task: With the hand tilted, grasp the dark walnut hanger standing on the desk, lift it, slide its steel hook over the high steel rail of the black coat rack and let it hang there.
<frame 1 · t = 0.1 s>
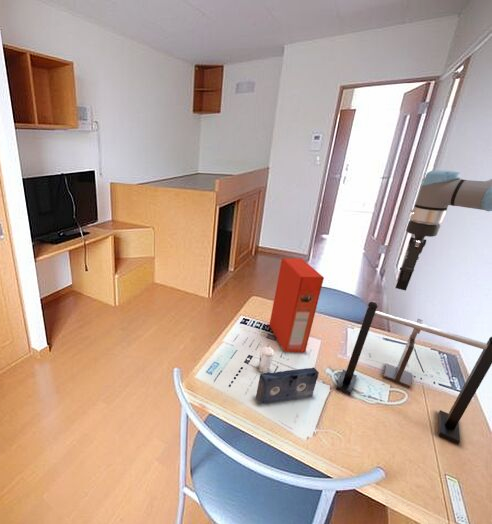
hand: (402, 282, 104), 31 cm above the table, tool pointing down, fingers open, 13 cm apart
vhs cassette tape: (283, 398, 96), on the table
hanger: (397, 376, 105), on the table
coat rack: (392, 404, 94), on the table
file binder: (285, 338, 124), on the table
milkshake: (262, 369, 108), on the table
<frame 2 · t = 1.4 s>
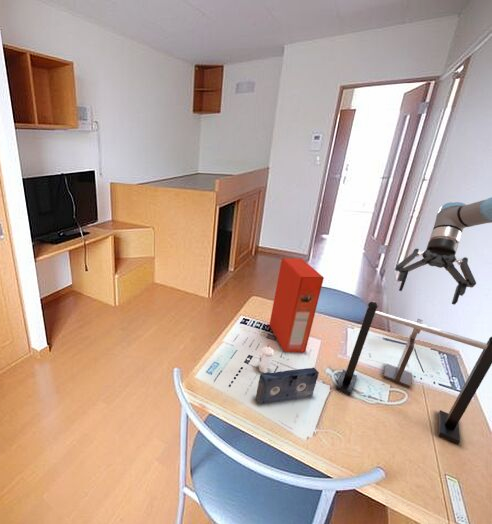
hand: (426, 296, 102), 27 cm above the table, tool tilted 45°, fingers open, 13 cm apart
nothing on the table moved.
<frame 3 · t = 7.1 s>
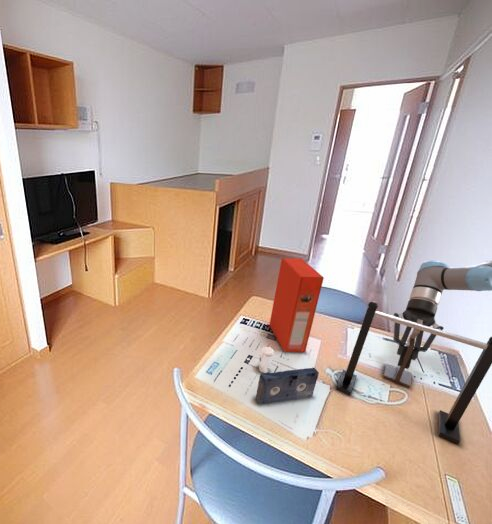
hand: (403, 366, 100), 7 cm above the table, tool tilted 45°, fingers closed on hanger
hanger: (397, 376, 105), on the table, touching gripper
everything else where it was.
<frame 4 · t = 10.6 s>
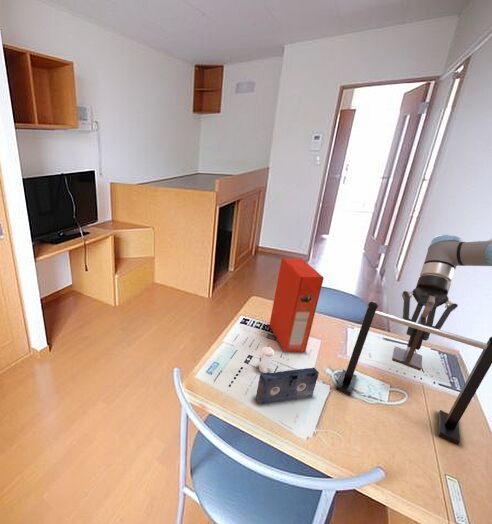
hand: (413, 347, 92), 18 cm above the table, tool tilted 45°, fingers closed on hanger
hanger: (406, 359, 97), point 11 cm above the table, touching gripper
everything else where it was.
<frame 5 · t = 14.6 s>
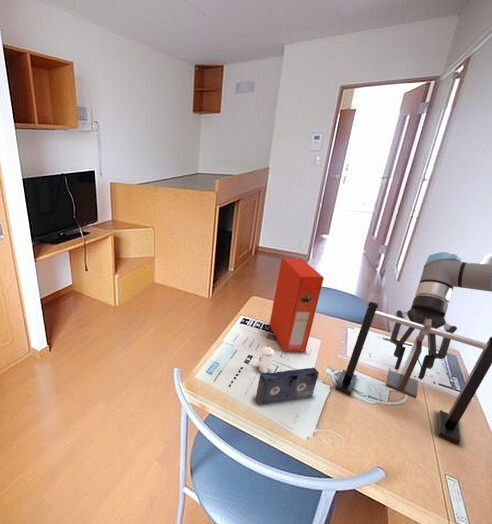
hand: (408, 372, 86), 15 cm above the table, tool tilted 45°, fingers open, 5 cm apart
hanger: (401, 384, 91), point 8 cm above the table, touching coat rack
everything else where it was.
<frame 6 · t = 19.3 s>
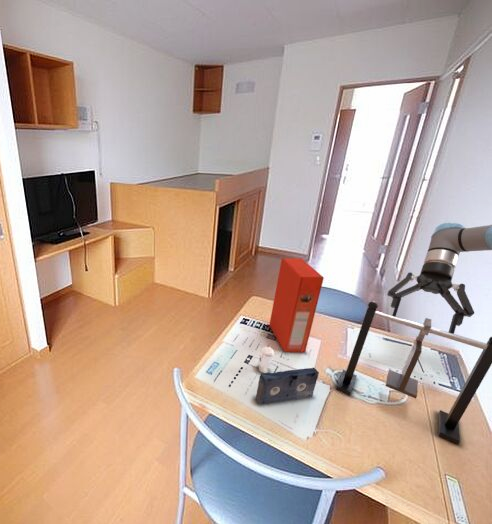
hand: (420, 325, 94), 23 cm above the table, tool tilted 45°, fingers open, 13 cm apart
nothing on the table moved.
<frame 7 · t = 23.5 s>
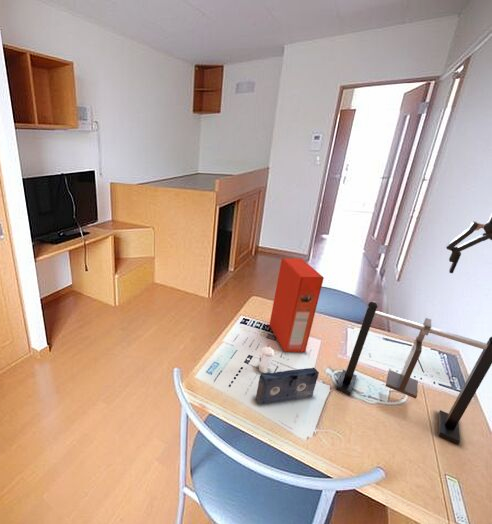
hand: (481, 278, 93), 37 cm above the table, tool pointing down, fingers open, 13 cm apart
nothing on the table moved.
at the end: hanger inside the target area (0.2 cm from its centre), point 8.0 cm above the table; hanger touching coat rack; the gripper is holding nothing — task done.
